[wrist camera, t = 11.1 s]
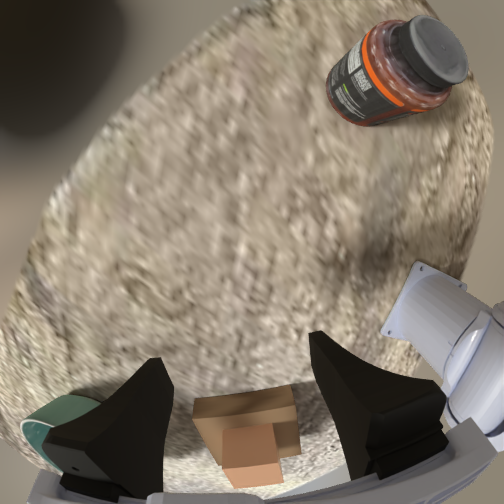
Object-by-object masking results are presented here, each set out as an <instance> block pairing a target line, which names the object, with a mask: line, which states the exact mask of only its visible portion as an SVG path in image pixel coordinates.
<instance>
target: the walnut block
mask: <svg viewBox="0 0 504 504" xmlns="http://www.w3.org/2000/svg"><path fill="white" fill-rule="evenodd" d="M192 420H193V422H194V424H195V426H196V428H197V430H198V431H199V433H200V435H201V437H202V439H203V440H204V442H205V444H206V446H207V447H208V449H209V451H210V453H211V454H212V456H213V458H214V459H215V461H216V463H217V464H218V466H220V465H222V433H223V430H226V429H235V428H243V427H251V426H257V425H264V424H270V423H272V424H273V429H274V433H275V437H276V441H277V445H278V450H279V456H280V458H285V457H291V456H296V455H300V454H301V445H300V437H299V429H298V421H297V413H296V405H295V401H294V397H293V394H292V390H291V386H290V385H286V386H281V387H276V388H270V389H265V390H259V391H253V392H246V393H240V394H232V395H225V396H216V397H207V398H196V399H195V401H194V408H193V415H192Z"/></svg>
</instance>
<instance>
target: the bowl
mask: <svg viewBox="0 0 504 504" xmlns="http://www.w3.org/2000/svg"><path fill="white" fill-rule="evenodd" d="M100 404H101V403H100V402H98V401H96V400H93V399H91V398H88V397H83V396H76V395H63V396H60V397H58V398H56V399H55V400H53V401H51V402H50V403H48V404H46V405H45V406H43V407H41V408H40V409H38V410H37V411H35V412H34V413H32V414H31V415H29V416H28V417H26V418H25V419H24V420H22V422H21V424H20V428H21V432H22V434H23V436H24V438H25V439H26V441H27V442H28V443H29V445H30V446H31V447H32V448H33V449H34V450H35V452H36V453H37V454H38V455H40V456H41V457H42V458H43V459H44V460H45V461H46V462H48V463H49V464H50V465H51V466H53V467H54V468H55V469H57V470H58V471H60V472H61V473H64V472H63V471H62V470H61V469H60V468H58V467H57V466H56V465H55V464H54V463H53V462H52V461H51V460H50V459H49V458H48V457H47V455H46V454H45V453H44V451H43V450H42V446H41V445H42V443H43V441H44V439H45V437H46V435H47V433H48V431H49V429H50V428H52V427H55V426H58V425H61V424H64V423H67V422H69V421H71V420H74V419H76V418H78V417H80V416H82V415H84V414H85V413H87V412H89V411H90V410H92V409H94V408H95V407H97V406H98V405H100Z"/></svg>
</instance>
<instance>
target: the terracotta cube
mask: <svg viewBox="0 0 504 504" xmlns="http://www.w3.org/2000/svg"><path fill="white" fill-rule="evenodd" d="M222 470H223V471H224V473H225V475H226V476H227V478H228V479H229V481H230V482H231V484H232V486H233V487H234V489H237V488H248V487H257V486H265V485H272V484H279V483H284V480H283V474H282V468H281V462H280V456H279V450H278V445H277V441H276V437H275V433H274V429H273V424H272V423H270V424H264V425H257V426H251V427H243V428H235V429H226V430H223V433H222Z"/></svg>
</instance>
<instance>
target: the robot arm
mask: <svg viewBox="0 0 504 504" xmlns="http://www.w3.org/2000/svg"><path fill="white" fill-rule="evenodd" d="M421 266H422V268H421ZM420 268H421V269H420ZM466 290H467V285H466V284H465V283H463V282H461V281H459V280H457V279H455V278H453V277H451V276H449V275H447V274H445V273H443V272H441V271H439V270H437V269H435V268H433V267H431V266H428V265H426V264H424V263H422V262H420V261H416V262H415V263H414V264H413V267H412V269H411V271H410V273H409V275H408V278H407V280H406V282H405V284H404V286H403V288H402V290H401V292H400V294H399V296H398V298H397V300H396V302H395V304H394V306H393V308H392V310H391V312H390V314H389V316H388V318H387V319H386V321H385V323H384V325H383V327H382V329H381V334H382V335H384V336H388V337H392V338H397V339H401V340H406V341H409V342H410V343H411V344H412V345H413V346H414V348H415V349H416V350H417V351H418V352H419V353H420V354H421V355H422V356H423V358H424V359H425V360H426V361H427V362H428V363H429V364H430V365H431V367H433V369H434V370H435V371H436V372H437V373H438V374H439V376H440V377H441V378H442V379H443V380H444V383H443V385H442V387H441V388H440V387H439V386H438V385H437V384H436V383H435V382H434V381H433V380H426V379H418V378H412V377H407V376H403V375H399V374H395V373H392V372H389V371H386V370H383V369H381V368H378V367H376V366H374V365H372V364H369V363H367V362H365V361H363V360H361V359H360V358H358V357H356V356H355V355H353V354H352V353H350V352H349V351H347V350H346V349H344V348H343V347H342V346H340V345H339V344H338V343H336V342H335V341H334V340H332V339H331V338H330V337H329V336H328V335H326V334H325V333H324V332H323V331H321V330H320V331H316V332H312V333H308V334H309V344H310V355H311V366H312V369H313V373H314V376H315V379H316V382H317V384H318V387H319V389H320V391H321V393H322V395H323V398H324V400H325V402H326V404H327V406H328V408H329V411H330V413H331V415H332V417H333V420H334V422H335V425H336V429H337V432H338V435H339V438H340V442H341V445H342V448H343V452H344V455H345V459H346V463H347V466H348V470H349V474H350V478H351V481H349V482H346V483H343V484H339V485H336V486H332V487H329V488H325V489H321V490H316V491H312V492H308V493H303V494H298V495H293V496H287V497H282V498H275V499H267V500H263V499H261V498H259V497H258V496H256V495H252V494H247V493H202V494H197V493H168V492H163V456H164V444H165V438H166V433H167V429H168V424H169V420H170V415H171V411H172V406H173V397H174V386H173V384H172V381H171V379H170V377H169V375H168V373H167V370H166V368H165V366H164V364H163V361H162V359H161V357H159V358H150V359H149V360H147V361H146V362H145V363H144V364H143V365H142V366H141V367H140V368H139V369H138V370H137V371H136V373H135V374H134V375H133V376H132V377H131V378H130V379H129V380H128V381H127V382H126V383H125V384H124V385H122V386H121V387H120V388H119V389H118V390H117V391H116V392H115V393H114V394H113V395H111V396H110V397H109V398H108V399H106V400H105V401H104V402H102V403H101V404H100V405H98V406H97V407H95V408H94V409H92V410H90V411H89V412H87V413H85V414H84V415H82V416H80V417H78V418H76V419H74V420H71V421H69V422H67V423H64V424H61V425H58V426H55V427H52V428H50V429H49V431H48V433H47V435H46V437H45V439H44V441H43V443H42V445H41V446H42V450H43V451H44V453H45V454H46V455H47V457H48V458H49V459H50V460H51V461H52V462H53V463H54V464H55V465H56V466H57V467H58V468H60V469H61V470H62V471H63V472H64V473H63V475H62V477H61V476H60V475H58V474H56V473H54V472H51V471H48V470H45V469H40V472H39V474H38V476H37V478H36V480H35V483H34V485H33V488H32V490H31V492H30V494H29V497H28V499H27V504H441V503H442V502H444V501H446V500H447V499H449V498H450V497H452V496H453V495H455V494H457V493H458V492H460V491H461V490H463V489H464V488H466V487H467V486H469V485H470V484H471V483H473V482H474V481H475V480H476V479H477V478H478V477H479V476H480V475H481V474H482V473H483V471H484V470H485V469H486V468H487V467H488V466H489V465H490V464H491V462H492V461H493V460H494V459H495V458H496V457H497V455H498V452H500V451H504V301H503V302H501V303H498V304H495V306H494V307H493V309H492V308H490V307H489V306H487V305H486V304H484V303H483V302H481V301H480V300H478V299H477V298H475V297H473V296H472V295H470V294H469V293H467V292H466ZM388 331H390V332H388ZM446 396H447V397H446ZM443 412H444V415H445V418H446V420H447V422H448V424H449V426H450V427H451V428H452V429H450V430H449V431H448V432H447V433H446V434H444V433H443V432H442V430H441V429H442V428H443V425H442V423H441V422H440V421H439V420H440V417H441V415H442V413H443Z"/></svg>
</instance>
